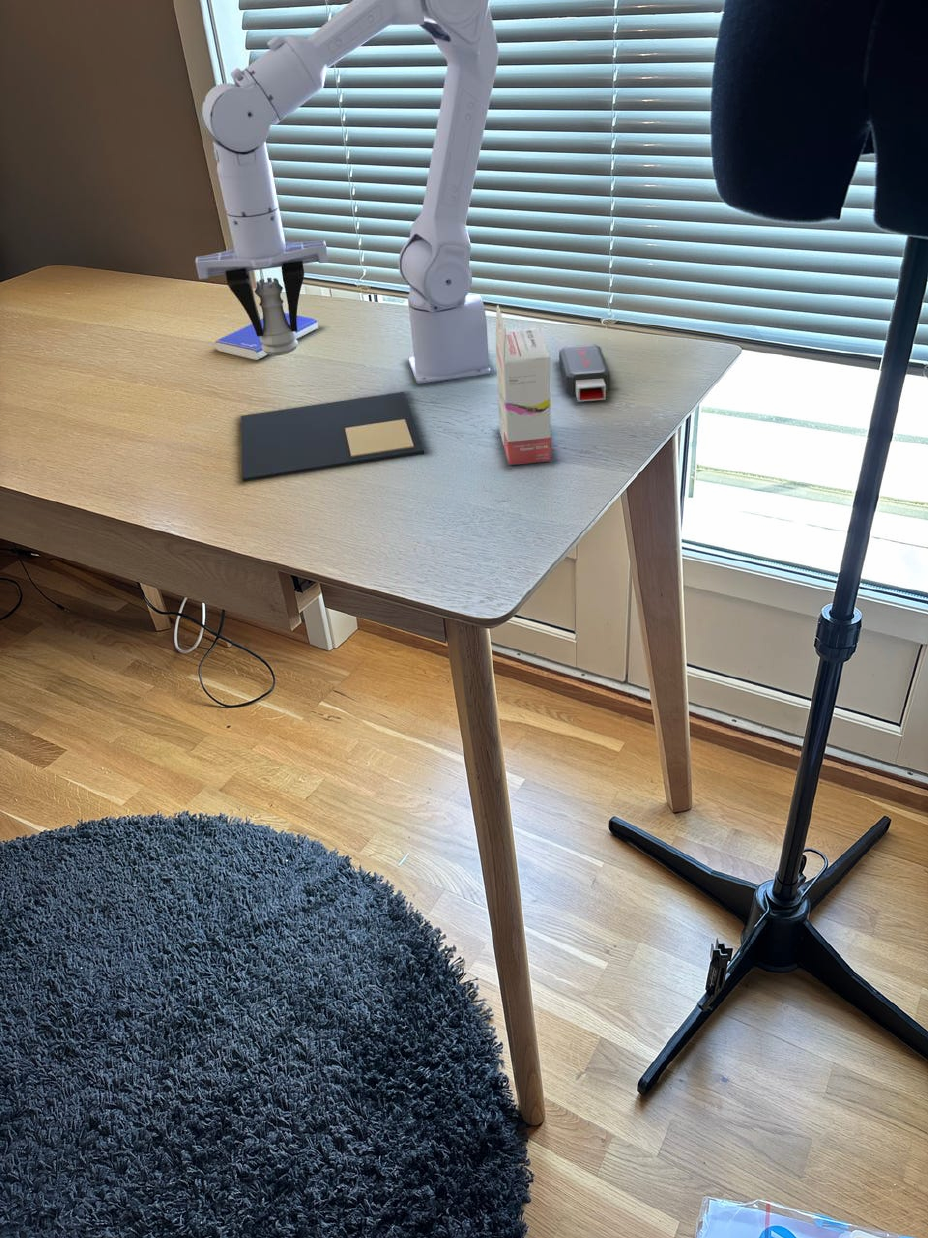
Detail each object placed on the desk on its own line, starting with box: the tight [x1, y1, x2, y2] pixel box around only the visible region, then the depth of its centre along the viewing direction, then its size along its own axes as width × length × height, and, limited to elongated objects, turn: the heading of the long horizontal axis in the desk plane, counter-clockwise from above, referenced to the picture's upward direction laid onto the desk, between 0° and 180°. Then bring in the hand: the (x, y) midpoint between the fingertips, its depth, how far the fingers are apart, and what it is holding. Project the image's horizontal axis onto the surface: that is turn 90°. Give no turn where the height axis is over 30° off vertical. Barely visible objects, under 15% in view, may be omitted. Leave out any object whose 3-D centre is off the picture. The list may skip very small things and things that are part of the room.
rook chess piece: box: [254, 277, 299, 356], centre depth 112 cm, size 4×4×8 cm
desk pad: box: [240, 391, 425, 482], centre depth 111 cm, size 20×16×1 cm
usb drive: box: [558, 344, 611, 403], centre depth 117 cm, size 5×12×3 cm, turn 2°
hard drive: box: [214, 312, 319, 361], centre depth 136 cm, size 2×8×12 cm
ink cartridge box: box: [494, 304, 552, 466], centre depth 101 cm, size 9×5×15 cm, turn 5°
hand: (276, 330), depth 113 cm, fingers closed on rook chess piece, 3 cm apart
